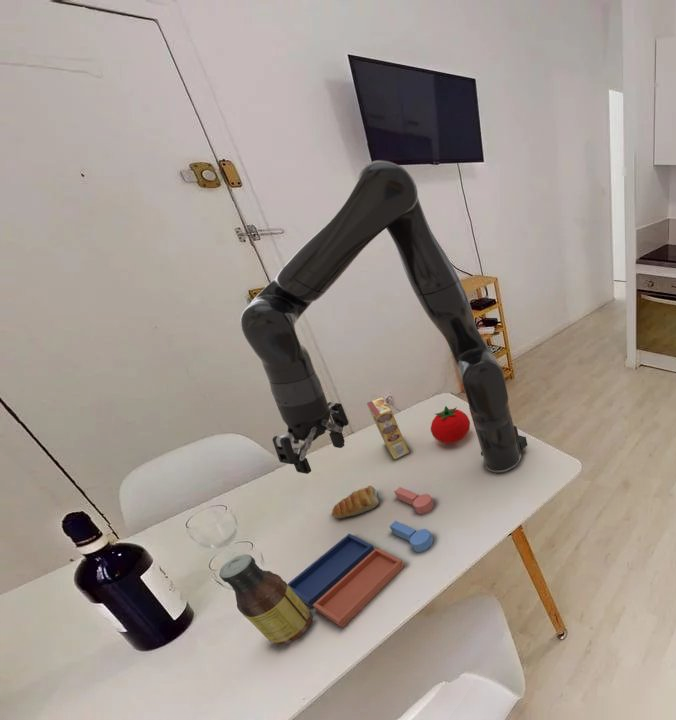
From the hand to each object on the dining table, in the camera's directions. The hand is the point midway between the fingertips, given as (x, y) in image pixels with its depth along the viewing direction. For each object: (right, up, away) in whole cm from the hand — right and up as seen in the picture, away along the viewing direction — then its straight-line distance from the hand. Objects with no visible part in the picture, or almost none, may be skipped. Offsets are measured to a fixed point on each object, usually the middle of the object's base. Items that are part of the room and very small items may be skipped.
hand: (323, 458), depth 88 cm
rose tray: (+13, -24, -7) cm, 28 cm away
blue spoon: (+18, -19, +3) cm, 26 cm away
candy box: (-1, -5, +29) cm, 30 cm away
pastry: (0, -15, +11) cm, 18 cm away
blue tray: (+5, -23, -4) cm, 23 cm away
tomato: (+14, -2, +33) cm, 35 cm away
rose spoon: (+14, -14, +12) cm, 23 cm away
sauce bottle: (+5, -28, -13) cm, 32 cm away
